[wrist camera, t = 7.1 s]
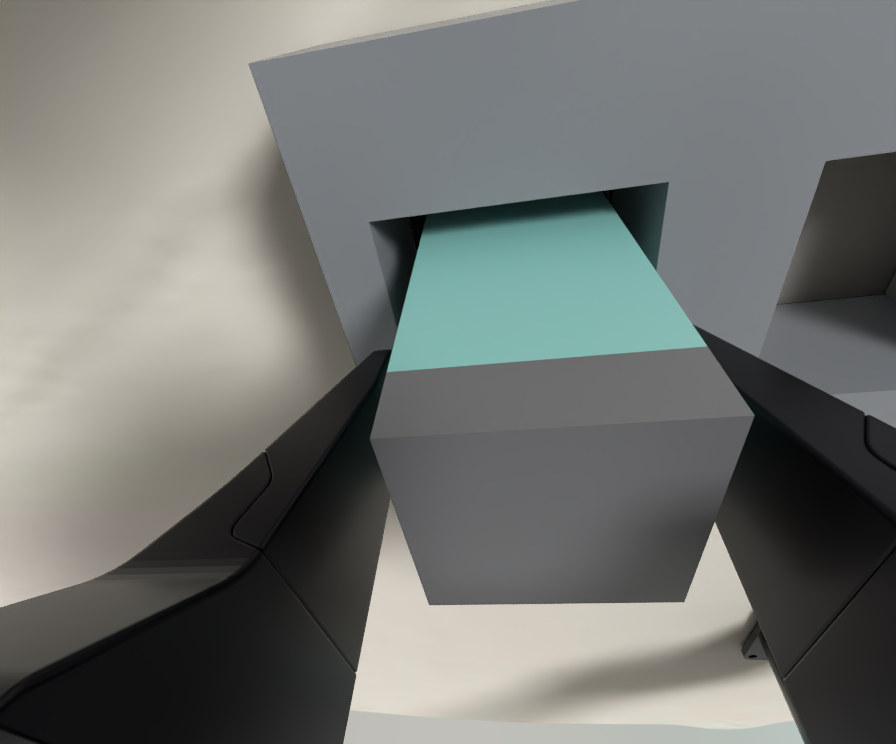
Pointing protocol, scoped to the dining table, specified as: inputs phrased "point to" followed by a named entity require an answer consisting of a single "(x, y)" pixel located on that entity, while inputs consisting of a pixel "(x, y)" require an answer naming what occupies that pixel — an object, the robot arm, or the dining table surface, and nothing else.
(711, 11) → the socket plate
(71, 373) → the dining table surface
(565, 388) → the plug
